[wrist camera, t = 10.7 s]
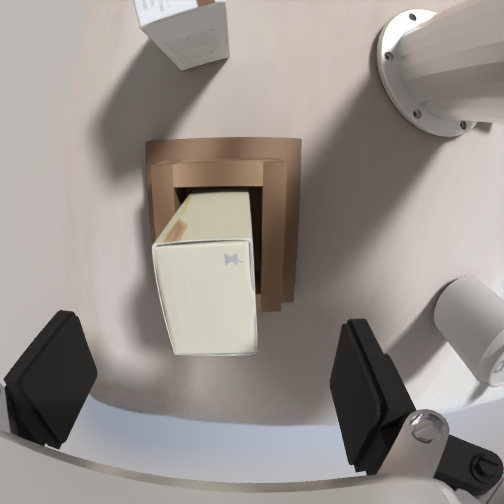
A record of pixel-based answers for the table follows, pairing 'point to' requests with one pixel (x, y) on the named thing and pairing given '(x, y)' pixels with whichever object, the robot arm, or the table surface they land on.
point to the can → (474, 327)
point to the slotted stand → (237, 174)
